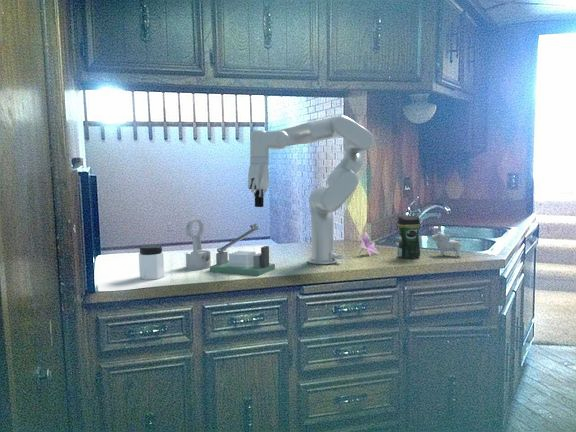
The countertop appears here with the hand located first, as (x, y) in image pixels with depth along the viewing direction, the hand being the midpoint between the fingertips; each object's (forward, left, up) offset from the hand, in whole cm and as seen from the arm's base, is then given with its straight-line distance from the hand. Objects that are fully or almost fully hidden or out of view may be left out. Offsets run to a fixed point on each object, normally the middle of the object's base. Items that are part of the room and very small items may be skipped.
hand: (259, 206), depth 218 cm
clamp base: (+4, +8, -25) cm, 26 cm away
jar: (+30, +32, -25) cm, 50 cm away
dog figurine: (-67, -52, -25) cm, 89 cm away
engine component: (+24, +10, -25) cm, 36 cm away
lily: (-33, -42, -25) cm, 59 cm away
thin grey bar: (+5, +8, -13) cm, 17 cm away
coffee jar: (-52, -42, -25) cm, 72 cm away
